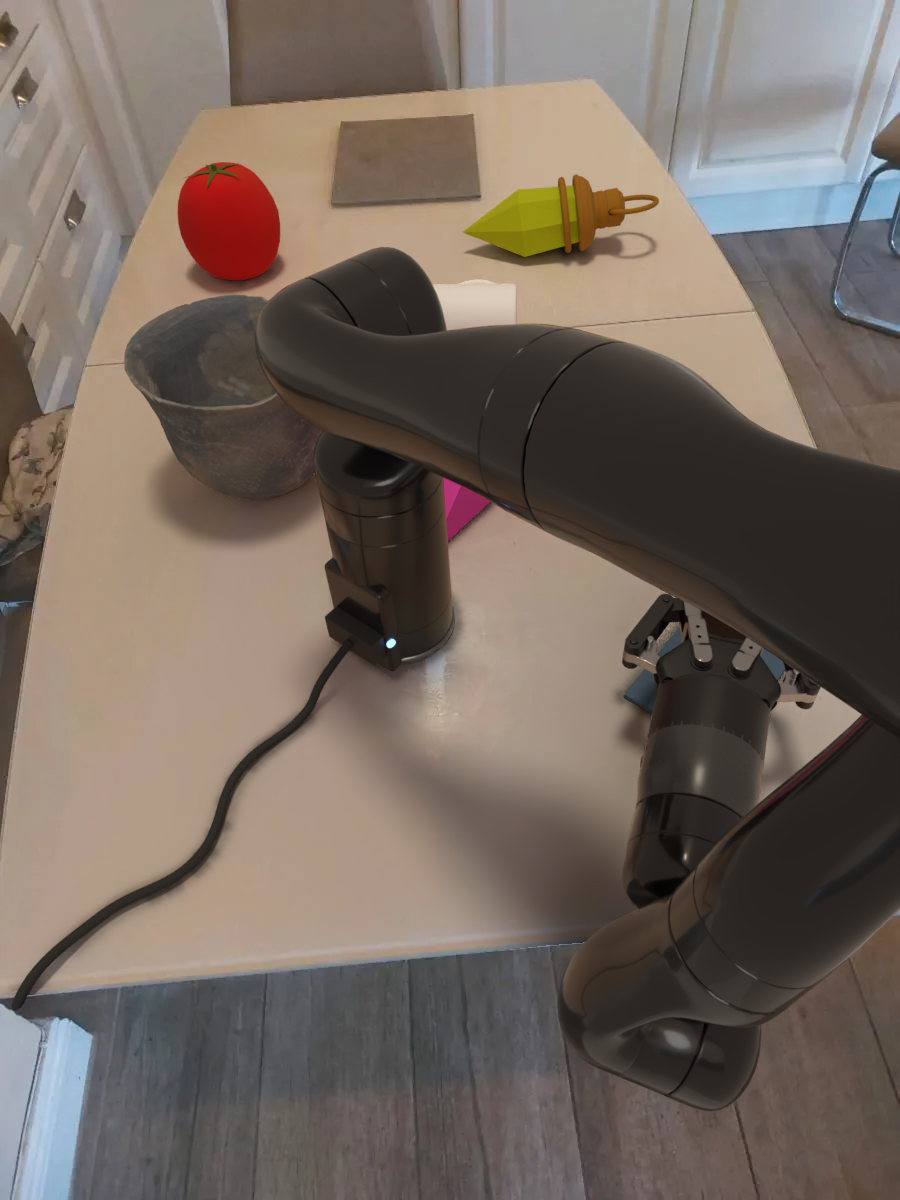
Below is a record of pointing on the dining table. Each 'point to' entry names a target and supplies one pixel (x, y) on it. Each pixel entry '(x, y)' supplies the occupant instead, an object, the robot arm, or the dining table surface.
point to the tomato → (229, 221)
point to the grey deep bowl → (220, 399)
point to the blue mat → (646, 687)
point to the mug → (477, 303)
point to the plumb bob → (554, 217)
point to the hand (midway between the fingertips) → (734, 575)
